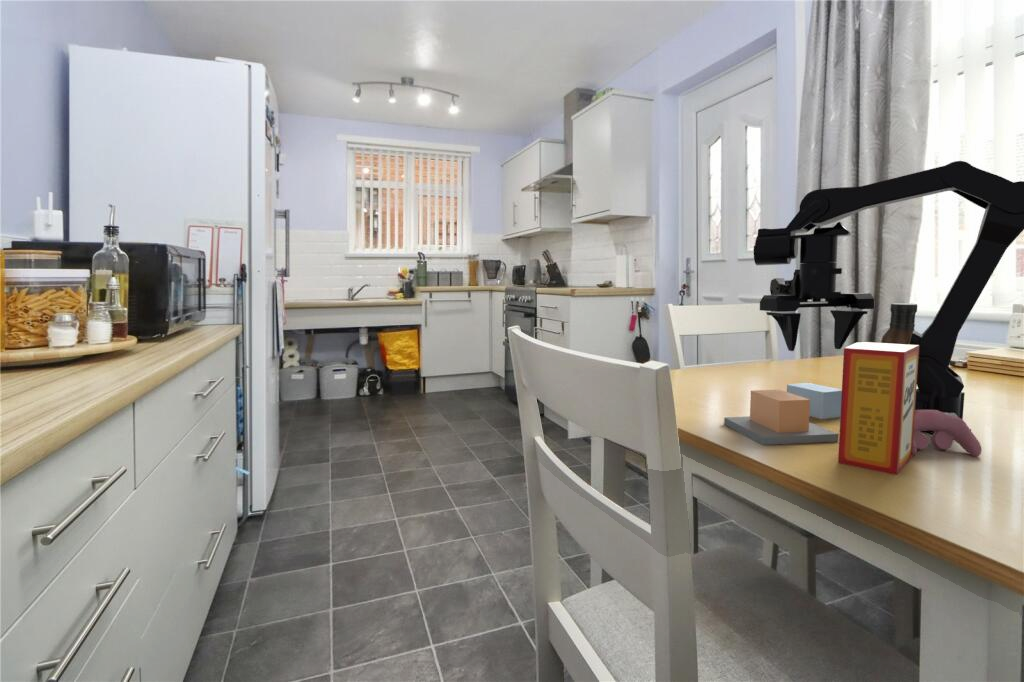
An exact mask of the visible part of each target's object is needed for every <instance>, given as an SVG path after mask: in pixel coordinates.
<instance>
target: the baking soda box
mask: <svg viewBox="0 0 1024 682" xmlns="http://www.w3.org/2000/svg"><path fill="white" fill-rule="evenodd" d="M918 358H919V345H909V344H891V343H881V342H874V341H873V342H872V341H862V342H857V341H856V342H855V343H853V344H850V345H848V346H846V347H844V348H843V361H842V379H841V380H842V381H841V390H842V397H841V416H840V417H839V418H840V419H839V435H838V455H837V456H838V457H837V458H838V459H837V460H838V464H842V465H846V466H847V465H848V466H853V467H857V468H861V469H867V470H871V471H878V472H881V473H886V474H887V473H888V474H891V475H898V474H899V473H900V471H902V469H903V468H904V467H905V466H906V465H907V464H908V463H909V461H910V460H911V458H913V456H912V448H913V433H914V418H915V403H916V389H918V387H917V373H918Z"/></svg>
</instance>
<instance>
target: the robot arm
mask: <svg viewBox="0 0 1024 682" xmlns="http://www.w3.org/2000/svg"><path fill="white" fill-rule="evenodd" d="M945 192H953V193H954V194H956V195H959V196H960V197H962V198H964V199H966V200H967V201H969V202H971V203H972V204H974V205H975V206H978V207H981V208H982V209H984V210H985V211H984V213H983V217H982V219H981V223H980V226H979V230H978V234H977V237H976V241H975V244H974V246H973V247H972V248H971V251H970V252H969V255H968V257H967V259H966V260H965V262H964V264H963V265H962V266H961V269H960V271H959V273H958V275H957V276H956V278H955V280H954V282H953V284H952V285H951V287H950V289H949V291H948V293H947V294H946V297H945V298H944V300H943V301H942V304H941V306H940V307H939V309H938V311H937V313H936V315H935V316H934V318H933V320H932V322H931V323H930V325H929V326H928V327H926V329H925V330H924V331H923V332H922V333H919V332H918V331H916V330H915V331H913V332H912V335H911V338H910V342H909V345H919V358H918V373H917V388H916V403H915V410H938V411H940V412H944V413H955V414H956V415H957V416H958V417H959V418H961V419H962V420H963V421H964V419H963V417H964V407H965V406H964V405H965V396H966V395H965V392H962V391H963V389H964V387H965V385H964V382H963V380H962V376H960V374H958V373H957V372H955V370H953V369H952V368H951V367H950V363H951V361H952V360H951V359H952V357H953V354H954V350H955V347H956V344H957V339H958V336H959V333H960V331H961V329H962V327H964V326H963V325H964V324H965V322H966V321H967V319H968V318H969V316H970V314H971V312H972V310H973V309H974V306H975V305H976V303H977V301H978V300H979V298H980V296H981V294H982V293H983V291H984V289H985V287H986V286H987V284H988V283H989V280H990V279H991V277H992V275H993V274H994V271H995V270H996V268H997V266H998V264H1000V261H1001V259H1002V258H1003V256H1004V255H1005V253H1006V251H1007V249H1008V248H1009V247H1010V246H1011V244H1013V242H1014V241H1015V240H1016V239H1017V238H1018V236H1020V235H1021V233H1022V232H1023V231H1024V181H1023V180H1022V181H1021V180H1018V181H1011V180H1010V179H1008V178H1005V177H1002V176H1000V175H997V174H995V173H993V172H989V171H987V170H983V169H981V168H977V167H976V166H973V165H972V164H970V163H969V162H968V161H964V160H958V161H957V160H955V161H952V162H950V163H947V164H945V165H941V166H938V167H937V166H936V167H933V168H929V169H925V170H921V171H917V172H913V173H910V174H909V173H908V174H904V175H902V176H897V177H893V178H890V179H885V180H880V181H878V182H873V183H869V184H865V185H860V186H848V187H845V186H844V187H843V186H842V187H831V188H819V189H813V190H812V191H809V192H807V194H805V196H803V198H802V200H801V201H800V204H799V211H798V212H797V213H796V214H795V216H794V217H793V218H792V219H791V221H790V222H789V223H788V224H787V226H786V227H781V228H758V230H757V236H756V239H755V244H754V245H753V259H754V260H753V261H754V264H755V265H756V266H774V265H775V266H777V265H778V266H779V265H790V264H791V263H792V260H795V259H797V257H798V255H799V269H794V272H793V277H792V279H790V280H789V279H788V280H786V279H785V278H784V277H783V278H782V277H780V278H778V277H777V278H776V277H775V278H773V279H771V280H770V284H769V285H770V286H769V291H770V292H769V293H770V294H763V296H762V298H761V299H760V301H759V311H762V312H763V311H765V313H766V315H767V316H771V317H772V318H773V319H774V320H775V321H776V322H777V324H778V326H779V328H780V331H781V334H782V336H783V339H784V341H785V344H786V347H787V350H788V351H790V352H795V349H796V346H797V341H798V334H799V328H800V327H799V326H800V321H801V313H800V312H797V311H798V309H799V308H831V307H834V308H835V309H830V313H831V315H832V317H833V319H834V324H833V325H834V326H833V327H834V330H833V332H834V333H833V334H834V335H833V344H834V349H835V350H841V349H842V348H843V346H844V344H845V343H846V341H847V340H848V338H849V336H850V334H851V333H852V331H853V329H854V328H855V327H856V326H857V324H858V323H859V322H860V320H861V318H862V317H863V316H864V315H868V312H869V311H867V310H874V309H875V297H874V296H873V295H872V293H870V292H865V293H864V292H863V293H862V292H848V293H847V292H844V293H842V291H837V290H836V287H837V286H836V285H837V283H836V282H837V275H842V274H843V272H842V271H843V268H841V267H838V266H837V263H838V262H837V261H838V260H837V259H838V241H839V240H838V238H839V237H850V236H851V235H852V232H851V231H850V230H848V229H847V228H846V227H845V226H844V225H843V223H842V222H840V221H841V220H843V219H846V218H848V217H851V216H852V215H855V214H857V213H859V212H862V211H865V210H868V209H872V208H873V209H874V208H878V207H881V206H886V205H892V204H895V203H896V204H897V203H900V202H904V201H908V200H913V199H917V198H922V197H927V196H931V195H936V194H939V193H945ZM836 222H837V223H836ZM833 223H836V224H834V226H830V227H820V226H827V225H830V224H833ZM817 226H819V227H817ZM815 227H817V228H815ZM811 230H813V233H811V234H810V233H808V232H810V231H811ZM803 233H805V234H803ZM806 233H808V234H806ZM799 240H800V246H799ZM799 248H800V249H799ZM799 250H800V251H799ZM969 429H970V430H971V431H972V429H971V428H969ZM922 432H926V433H929V434H930V433H931V434H932V435H933V434H934V431H929V430H923V431H922Z"/></svg>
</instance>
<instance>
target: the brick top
mask: <svg viewBox="0 0 1024 682" xmlns="http://www.w3.org/2000/svg"><path fill="white" fill-rule="evenodd" d="M786 392H788V393H791V394H794V395H797V396H800V397H804V398H807V399H810V413H809V417H813V418H816V419H820V420H827V419H828V420H829V419H838V418H840V416H841V397H842V388H836V387H830V386H826V385H822V384H816V383H810V382H801V383H791V384H790V383H789V384H786Z"/></svg>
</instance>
